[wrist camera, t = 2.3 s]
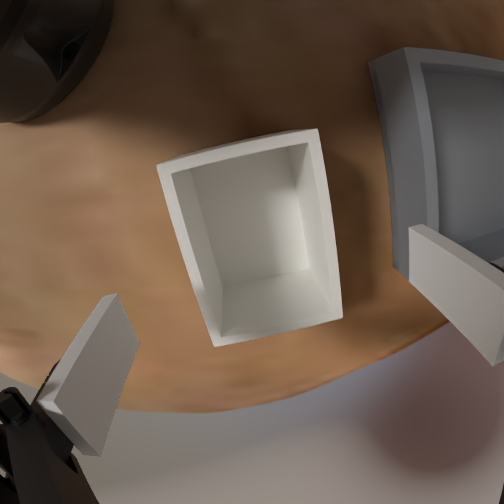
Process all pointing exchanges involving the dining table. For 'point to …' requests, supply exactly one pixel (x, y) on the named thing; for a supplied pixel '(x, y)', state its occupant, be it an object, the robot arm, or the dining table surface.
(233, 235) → the white crate
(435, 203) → the slate crate
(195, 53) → the dining table surface
